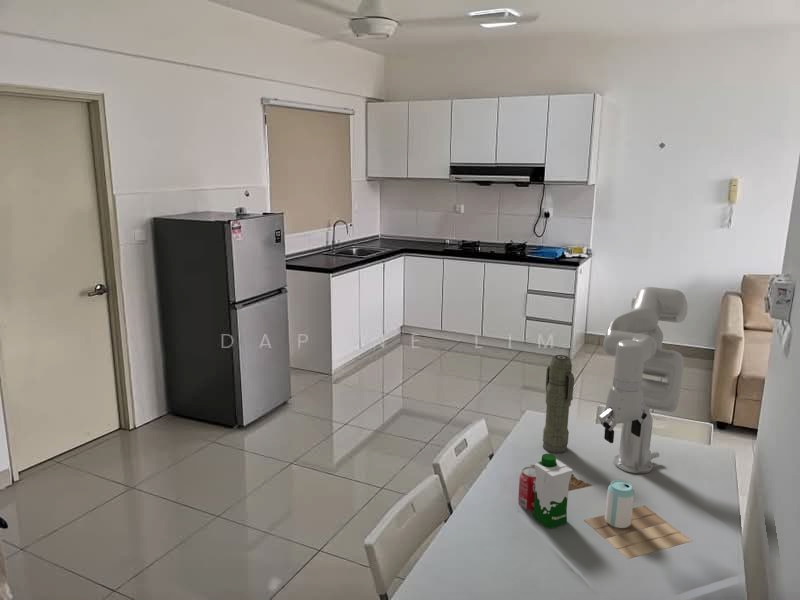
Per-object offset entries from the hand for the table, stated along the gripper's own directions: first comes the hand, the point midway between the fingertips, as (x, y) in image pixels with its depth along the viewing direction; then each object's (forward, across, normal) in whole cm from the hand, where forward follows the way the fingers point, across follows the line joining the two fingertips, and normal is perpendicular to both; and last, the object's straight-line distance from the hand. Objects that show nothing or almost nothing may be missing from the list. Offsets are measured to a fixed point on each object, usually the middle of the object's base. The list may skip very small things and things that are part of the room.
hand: (622, 437), depth 177 cm
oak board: (+24, +3, +16) cm, 29 cm away
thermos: (+26, -7, -40) cm, 48 cm away
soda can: (+24, +23, -11) cm, 35 cm away
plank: (+24, +2, +7) cm, 25 cm away
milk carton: (+24, +22, -2) cm, 33 cm away
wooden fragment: (+25, +4, -20) cm, 33 cm away
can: (+23, +5, +7) cm, 24 cm away
